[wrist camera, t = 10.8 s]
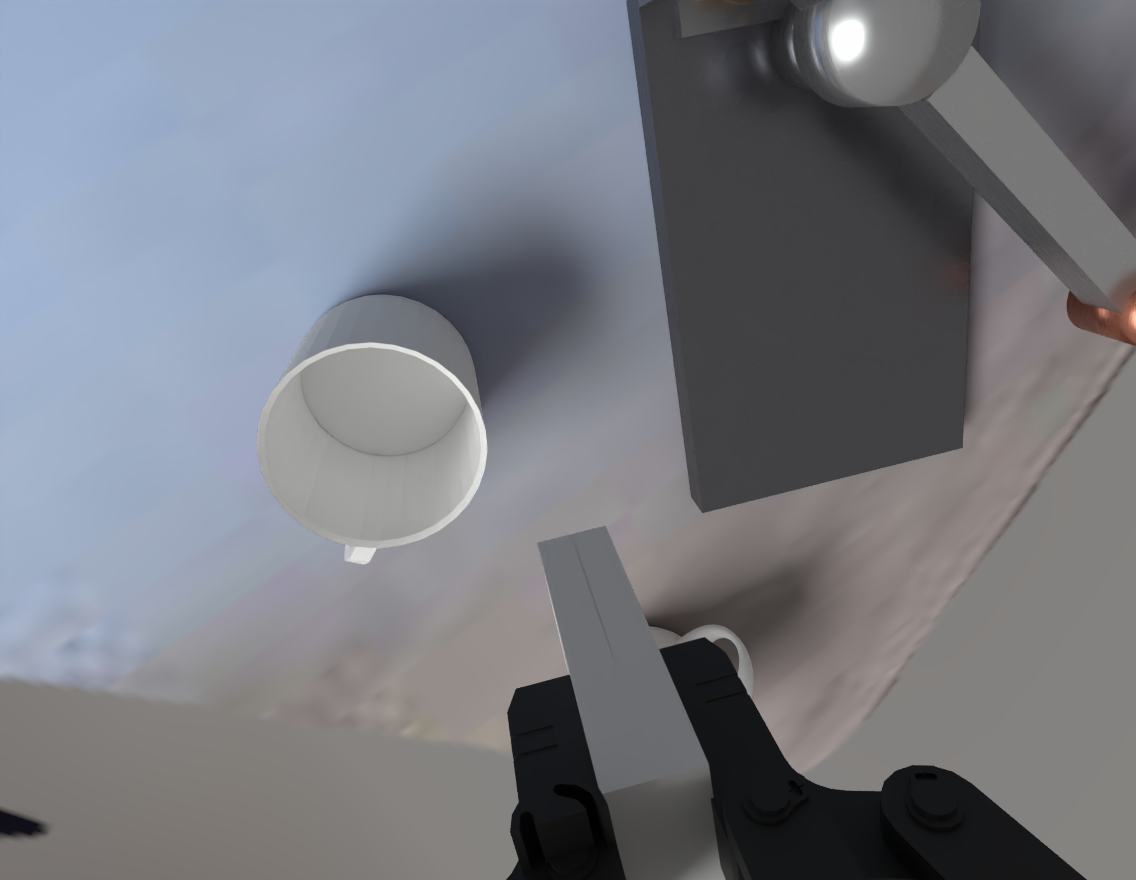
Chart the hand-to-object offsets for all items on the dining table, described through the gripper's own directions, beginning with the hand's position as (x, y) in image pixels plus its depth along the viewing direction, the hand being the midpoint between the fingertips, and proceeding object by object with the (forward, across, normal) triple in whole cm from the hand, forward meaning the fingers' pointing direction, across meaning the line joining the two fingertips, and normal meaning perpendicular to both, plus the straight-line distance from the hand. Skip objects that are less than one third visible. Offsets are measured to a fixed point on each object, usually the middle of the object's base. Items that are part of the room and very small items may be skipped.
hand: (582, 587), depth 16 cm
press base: (+24, +17, +2) cm, 30 cm away
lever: (+19, +22, +5) cm, 29 cm away
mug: (+25, -7, -3) cm, 26 cm away
